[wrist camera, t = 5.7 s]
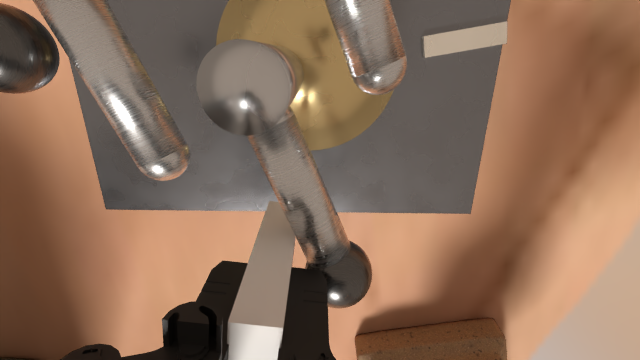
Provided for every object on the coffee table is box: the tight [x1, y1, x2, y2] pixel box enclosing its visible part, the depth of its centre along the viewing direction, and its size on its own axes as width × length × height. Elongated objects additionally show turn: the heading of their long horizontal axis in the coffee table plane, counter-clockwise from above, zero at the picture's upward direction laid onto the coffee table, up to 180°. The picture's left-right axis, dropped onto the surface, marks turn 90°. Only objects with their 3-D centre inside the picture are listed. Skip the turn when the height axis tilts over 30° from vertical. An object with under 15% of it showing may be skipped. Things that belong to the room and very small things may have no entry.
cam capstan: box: [0, 0, 407, 308], centre depth 13 cm, size 14×14×9 cm
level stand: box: [69, 0, 511, 214], centre depth 17 cm, size 22×16×4 cm
